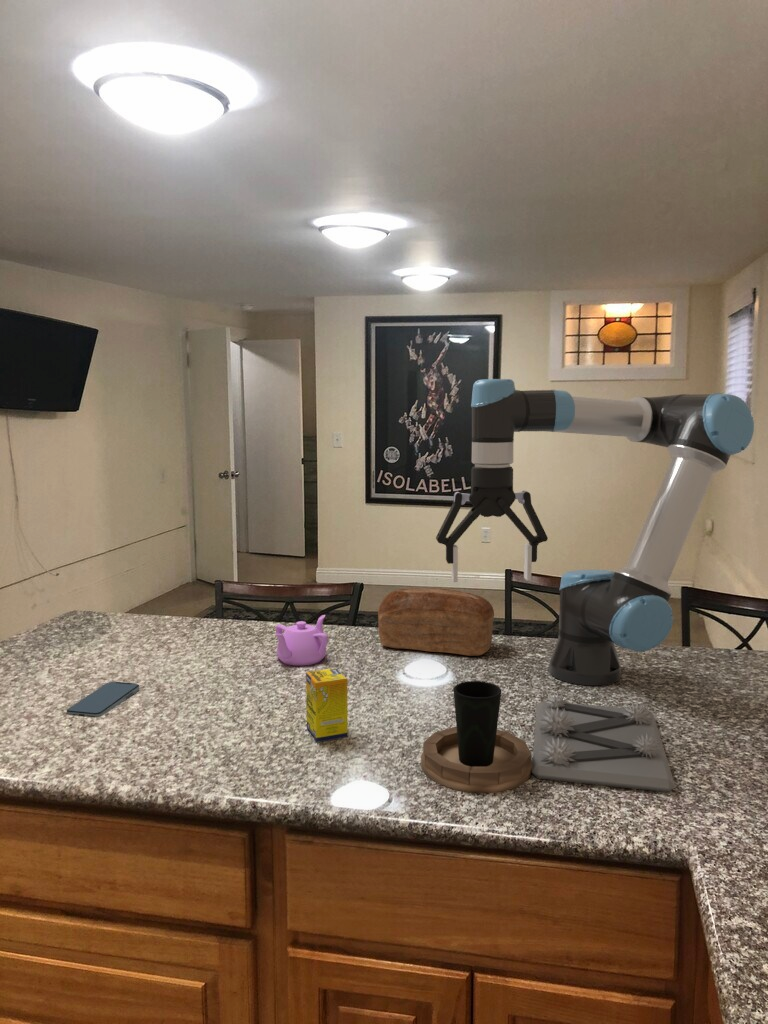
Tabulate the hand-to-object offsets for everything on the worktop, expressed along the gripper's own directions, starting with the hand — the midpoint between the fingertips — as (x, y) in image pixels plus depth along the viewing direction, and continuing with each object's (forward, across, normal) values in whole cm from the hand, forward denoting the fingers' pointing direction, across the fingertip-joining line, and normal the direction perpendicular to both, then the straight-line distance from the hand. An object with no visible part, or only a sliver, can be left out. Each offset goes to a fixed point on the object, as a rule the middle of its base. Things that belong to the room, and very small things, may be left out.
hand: (491, 580), depth 143 cm
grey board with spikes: (+27, -16, +14) cm, 35 cm away
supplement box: (+26, +31, +7) cm, 41 cm away
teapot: (+26, +38, -34) cm, 57 cm away
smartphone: (+26, +75, -10) cm, 80 cm away
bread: (+27, +6, -42) cm, 50 cm away
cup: (+25, +6, +20) cm, 33 cm away
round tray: (+26, +6, +20) cm, 34 cm away
